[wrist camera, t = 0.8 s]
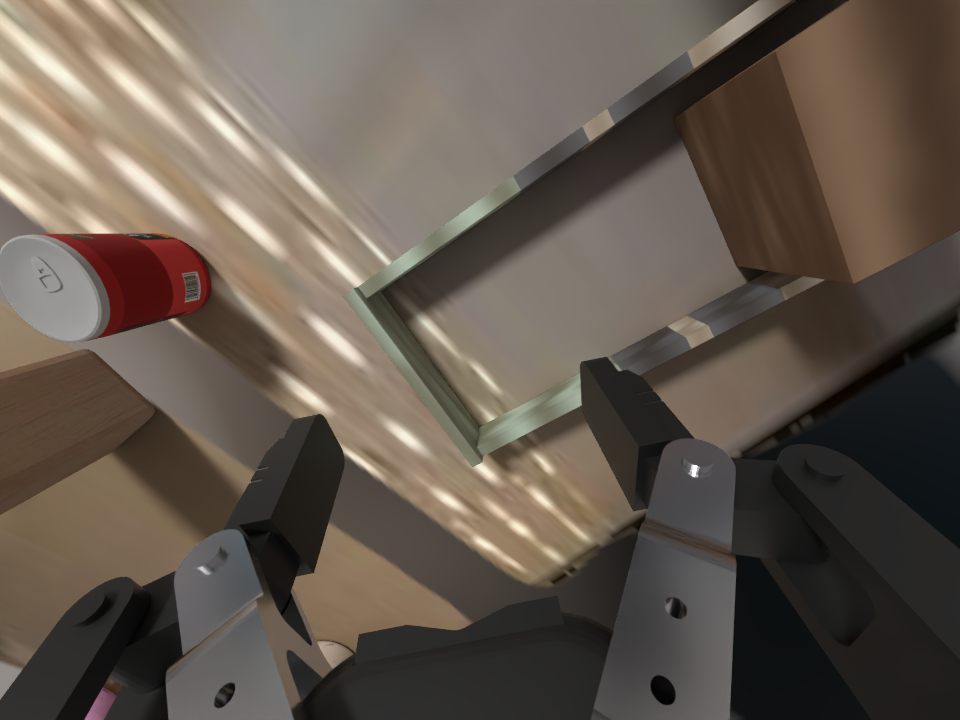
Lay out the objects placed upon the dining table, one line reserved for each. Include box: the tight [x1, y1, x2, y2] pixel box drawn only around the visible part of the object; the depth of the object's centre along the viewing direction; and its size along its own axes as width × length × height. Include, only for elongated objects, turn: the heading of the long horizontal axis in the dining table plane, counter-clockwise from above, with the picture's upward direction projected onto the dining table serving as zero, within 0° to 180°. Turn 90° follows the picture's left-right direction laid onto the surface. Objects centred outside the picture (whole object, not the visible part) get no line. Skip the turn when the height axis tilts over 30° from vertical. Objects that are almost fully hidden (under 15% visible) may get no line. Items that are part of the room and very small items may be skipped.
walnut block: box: [673, 0, 960, 284], centre depth 24 cm, size 14×14×12 cm
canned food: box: [0, 234, 211, 343], centre depth 32 cm, size 8×8×11 cm
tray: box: [343, 0, 824, 467], centre depth 31 cm, size 45×20×5 cm, turn 123°
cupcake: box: [85, 678, 122, 720], centre depth 55 cm, size 9×9×10 cm
